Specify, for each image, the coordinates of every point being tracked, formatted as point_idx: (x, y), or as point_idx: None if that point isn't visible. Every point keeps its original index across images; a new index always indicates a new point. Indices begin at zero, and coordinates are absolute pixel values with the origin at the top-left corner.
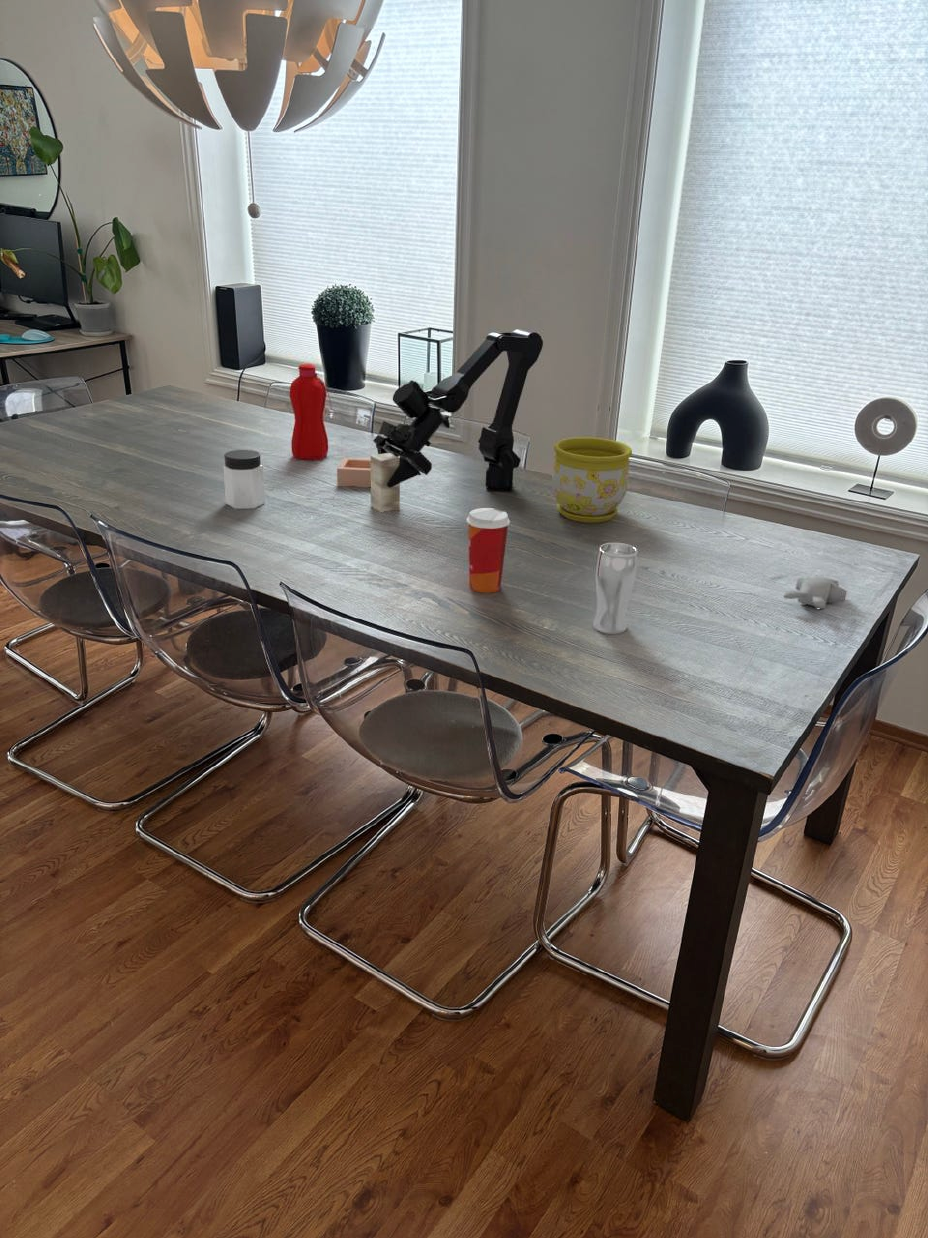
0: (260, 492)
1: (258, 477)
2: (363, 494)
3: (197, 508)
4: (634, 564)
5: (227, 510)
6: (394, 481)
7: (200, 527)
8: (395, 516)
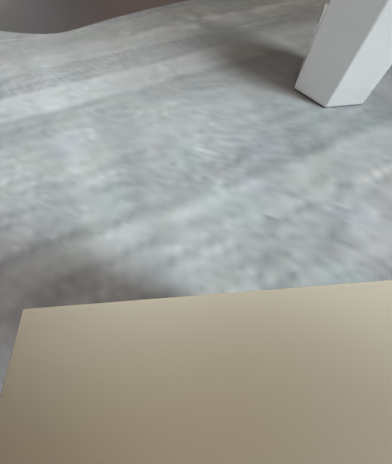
0: (329, 71)
1: (350, 20)
2: None
3: None
4: None
5: (294, 62)
6: None
7: (225, 28)
8: None
